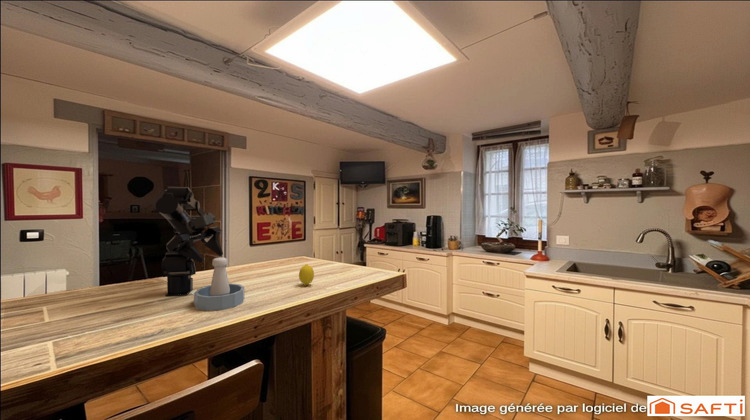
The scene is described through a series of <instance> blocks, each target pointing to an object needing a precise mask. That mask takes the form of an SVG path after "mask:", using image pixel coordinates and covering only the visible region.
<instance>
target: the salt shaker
mask: <svg viewBox="0 0 750 420" xmlns="http://www.w3.org/2000/svg"><path fill="white" fill-rule="evenodd" d="M211 262H212V263H211V264H212V267H214V268H213V273H212V278H211V283H210V285H211V288H210V296H223V295H228V294H229V293H230V287H229V283H230V282H229V277H228V272H227V268H226V266H227V265H228V258H226V257H224V256H222V257H221V256H219V257H215V258H213V259H212V261H211Z"/></svg>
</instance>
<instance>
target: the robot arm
mask: <svg viewBox="0 0 750 420" xmlns="http://www.w3.org/2000/svg"><path fill="white" fill-rule="evenodd" d="M194 195H195V194H194V193H193V191H192V190H191V189H190V187H189V186H167V187H166V189H165V190H163V192H162V194H161V196H160V198H159V199H158V200H157V201H156V202H155V208H156V210H157V212H158V213H159V214H160V215H161V216H162V217H163V218H165V219H166V220H167V221H168V222H169V224H170V225H171V227H173V230H172V232H173V233H174V234H175V235H174V236H173V237H172V238H171V239H170V240H169V241H168V242H167V243H166V250H167V251H166V253H165V254H164V258H162V259H161V263H160V265H161V274H162V277H163V278H166V280H167V281H166V286H167V287H166V288H167V290H166V291H167V292H166V293H165V295H164V296H165V297H171V296H172V297H174V296H188V295H189V294H190V293H191V292H192V291H193V287H194V283H193V281H194V278H193V277H192V276H195V275H196V271H197V270H196V268H197V267H196V265H195V261H196V262H198V263H201V264H203V262H205V259H204V258H203V256H202V255H201V253H200V252H199V250H198V249H197V248H196V246H195V242H197V241H201V243H203V244H204V246H205V247H207V248H208V249H209V250H211V251H212V252H214V253H215V254H216V255H218V256H219V257H221V256H222V257H223V256H224V252H223V249H222V246H221V245H220V244H221V243H220V240H219V238H220V236H221V235H222V234H221V233H222V232H223V230H222V229H221V228H220V227H219V226H212V227H208V226H211V225H214V224H215V223H216V220H217V219H216V218H217V217H216V216H215V215H214V214H213V213H211V212H207V213H206V211H205V210H204V209H203V208H202V206H201V204H200V201H199V200H196V199H195V197H194ZM192 211H193V212H194V211H196V214H198V215H189V213H188V212H192ZM207 227H208V228H207Z"/></svg>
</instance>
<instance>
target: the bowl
mask: <svg viewBox="0 0 750 420" xmlns="http://www.w3.org/2000/svg"><path fill="white" fill-rule="evenodd" d="M229 287H230V293H229V294H228V295H223V296H210V288H211V284H210V285H205V286H204V287H200V288H198V289H196V291H194V293H193V306H194V307H195V308H196V309H197V310H199V311H200V310H201V311H207V312H213V311H224V310H227V309H231V308H236V307H238V306H240V305H242V304H243V303H244V301H245V286H243V285H241V284H239V283H238V284H237V283H230V282H229Z"/></svg>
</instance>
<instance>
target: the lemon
mask: <svg viewBox="0 0 750 420" xmlns="http://www.w3.org/2000/svg"><path fill="white" fill-rule="evenodd" d="M298 272H299V273H298V277H299V281H300V282H301V283H302V284H304V285H305V286H308V285H309V284H311V283H312V282H313V281H314V277H315V273H314V268H313V267H312V266H310V265H309V264H304V265H303V266H302V267H300V269H299V271H298Z"/></svg>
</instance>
